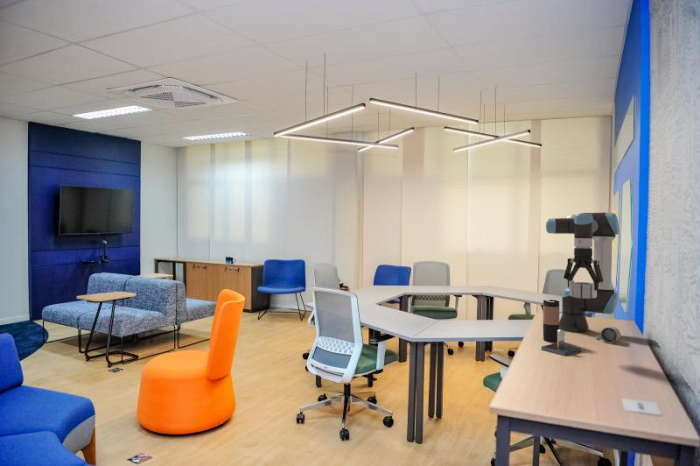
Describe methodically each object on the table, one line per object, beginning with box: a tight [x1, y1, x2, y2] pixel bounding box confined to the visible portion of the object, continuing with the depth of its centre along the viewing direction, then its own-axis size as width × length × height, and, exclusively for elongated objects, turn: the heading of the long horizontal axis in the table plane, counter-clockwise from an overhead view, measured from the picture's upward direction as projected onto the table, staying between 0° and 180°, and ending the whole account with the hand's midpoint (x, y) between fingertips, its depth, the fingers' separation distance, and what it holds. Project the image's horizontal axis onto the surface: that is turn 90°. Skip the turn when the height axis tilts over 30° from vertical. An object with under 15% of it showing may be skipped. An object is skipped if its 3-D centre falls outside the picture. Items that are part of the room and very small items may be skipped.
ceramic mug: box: [595, 325, 621, 344], centre depth 234 cm, size 11×8×8 cm
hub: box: [570, 281, 593, 298], centre depth 214 cm, size 10×10×6 cm
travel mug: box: [542, 299, 560, 343], centre depth 235 cm, size 8×8×20 cm
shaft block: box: [540, 329, 582, 357], centre depth 217 cm, size 12×12×10 cm
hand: (582, 296), depth 214 cm, fingers closed on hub, 10 cm apart
